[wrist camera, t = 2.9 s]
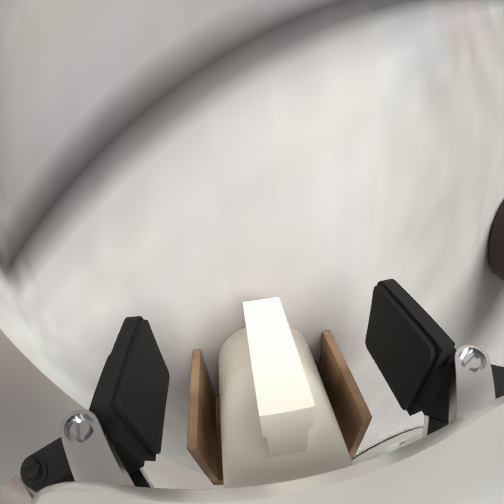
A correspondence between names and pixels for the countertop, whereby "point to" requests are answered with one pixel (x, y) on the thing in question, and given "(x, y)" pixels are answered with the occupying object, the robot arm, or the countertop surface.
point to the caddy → (208, 409)
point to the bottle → (497, 244)
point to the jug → (274, 404)
